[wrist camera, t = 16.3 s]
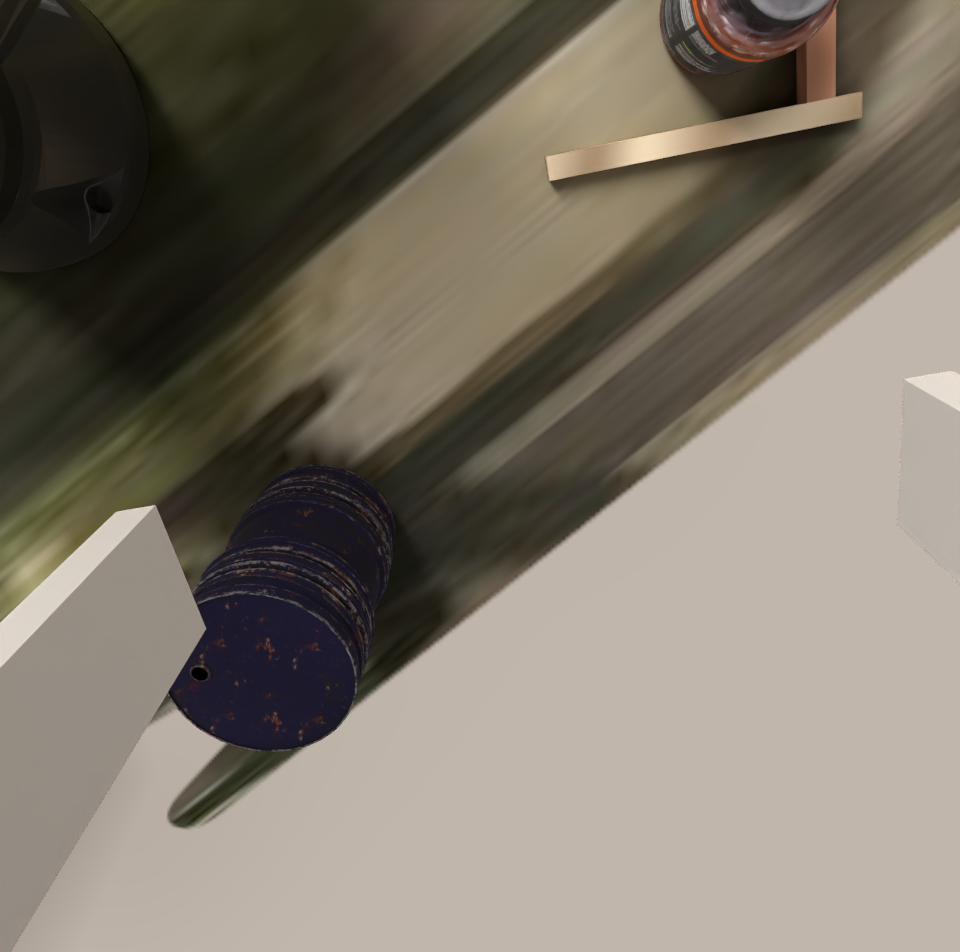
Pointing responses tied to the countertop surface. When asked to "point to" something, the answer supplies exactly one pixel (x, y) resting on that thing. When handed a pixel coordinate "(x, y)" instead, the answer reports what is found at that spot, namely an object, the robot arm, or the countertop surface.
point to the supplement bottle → (737, 31)
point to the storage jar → (289, 612)
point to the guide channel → (811, 111)
